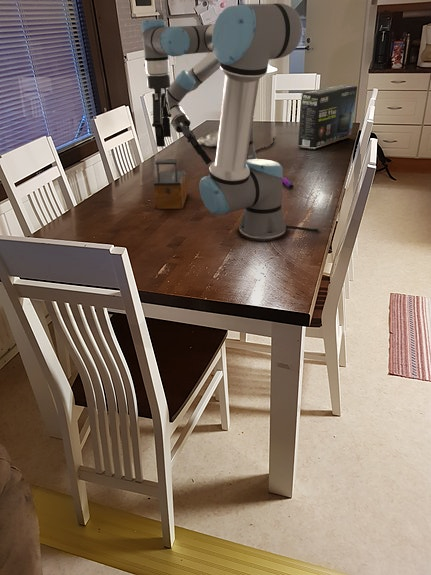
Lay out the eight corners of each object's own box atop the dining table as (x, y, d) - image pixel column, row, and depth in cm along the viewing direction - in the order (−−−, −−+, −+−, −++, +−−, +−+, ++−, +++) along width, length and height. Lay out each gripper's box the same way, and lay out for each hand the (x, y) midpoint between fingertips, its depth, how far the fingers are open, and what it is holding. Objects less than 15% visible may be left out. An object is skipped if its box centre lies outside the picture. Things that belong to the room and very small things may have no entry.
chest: (182, 208, 170) (180, 185, 166) (156, 208, 171) (154, 185, 166) (186, 195, 182) (185, 173, 178) (163, 195, 183) (160, 173, 178)
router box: (314, 151, 231) (318, 94, 217) (296, 148, 237) (299, 92, 224) (352, 138, 251) (358, 85, 238) (335, 135, 258) (340, 83, 245)
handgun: (261, 176, 200) (261, 171, 199) (278, 174, 201) (278, 169, 200) (275, 191, 183) (275, 186, 182) (294, 188, 184) (294, 184, 183)
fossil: (220, 142, 238) (201, 123, 241) (210, 159, 244) (191, 141, 248) (238, 140, 252) (219, 123, 255) (227, 157, 258) (210, 139, 261)
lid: (180, 185, 165) (178, 160, 160) (154, 185, 166) (151, 161, 161) (185, 173, 177) (183, 149, 173) (160, 173, 178) (158, 150, 174)
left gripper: (180, 135, 213) (205, 171, 210) (162, 114, 189) (190, 153, 186) (193, 125, 212) (218, 161, 209) (177, 102, 188) (205, 142, 185)
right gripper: (153, 70, 159) (159, 133, 170) (138, 79, 138) (146, 150, 149) (174, 69, 159) (179, 132, 170) (163, 79, 138) (169, 150, 149)
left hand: (205, 158), depth 197 cm, fingers open, 13 cm apart
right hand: (164, 141), depth 159 cm, fingers open, 13 cm apart
